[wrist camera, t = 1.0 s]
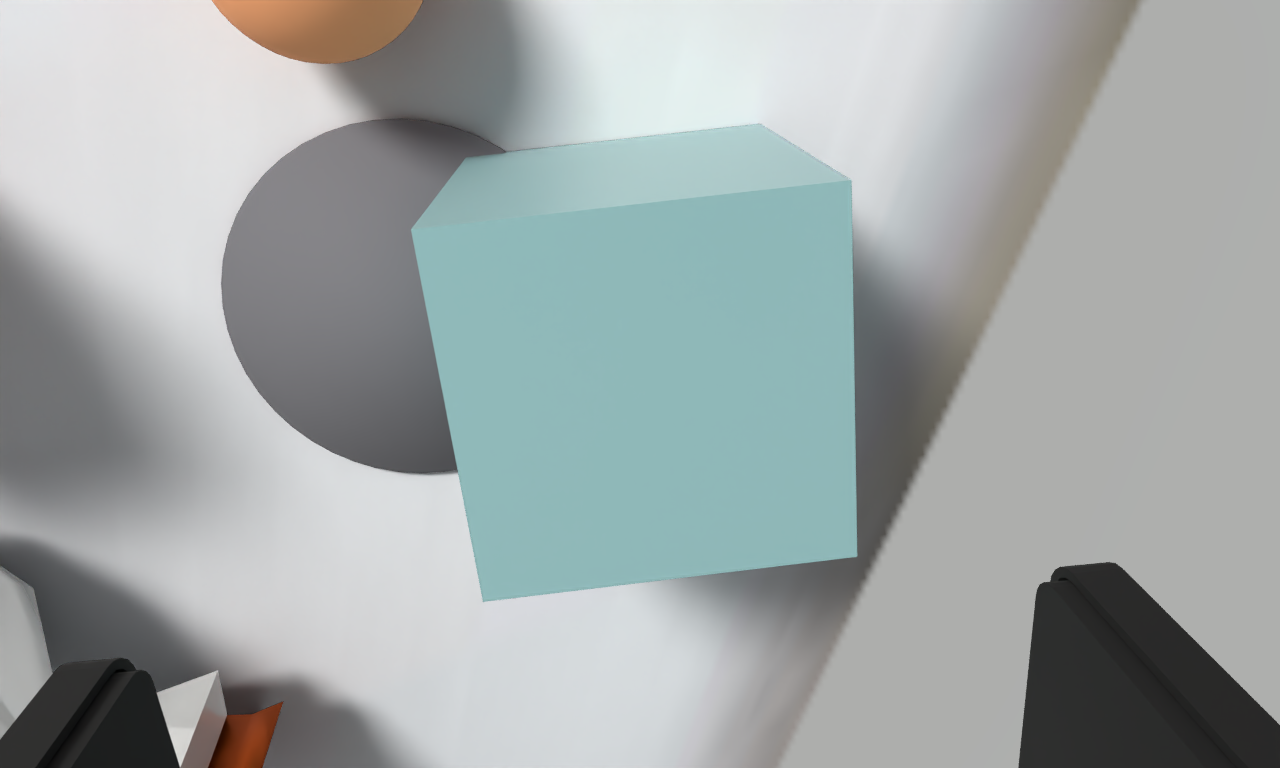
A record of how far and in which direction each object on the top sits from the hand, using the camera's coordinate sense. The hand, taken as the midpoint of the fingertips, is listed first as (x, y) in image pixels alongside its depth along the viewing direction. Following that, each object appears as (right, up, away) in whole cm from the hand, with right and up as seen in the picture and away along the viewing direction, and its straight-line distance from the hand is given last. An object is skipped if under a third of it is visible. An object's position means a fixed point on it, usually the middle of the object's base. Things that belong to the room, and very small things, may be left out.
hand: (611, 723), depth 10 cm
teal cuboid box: (0, +6, +16) cm, 17 cm away
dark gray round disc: (-6, +6, +16) cm, 18 cm away
